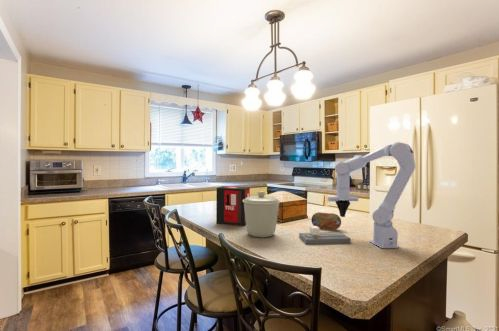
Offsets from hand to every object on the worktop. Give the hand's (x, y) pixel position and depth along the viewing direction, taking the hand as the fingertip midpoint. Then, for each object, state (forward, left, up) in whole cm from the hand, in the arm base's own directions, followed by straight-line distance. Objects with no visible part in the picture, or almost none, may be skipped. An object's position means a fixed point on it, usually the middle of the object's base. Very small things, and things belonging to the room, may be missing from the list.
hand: (342, 216), depth 126 cm
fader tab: (-5, +15, -7) cm, 18 cm away
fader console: (-5, +11, -9) cm, 15 cm away
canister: (+6, +38, -10) cm, 40 cm away
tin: (+14, +2, -10) cm, 17 cm away
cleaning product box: (+30, +50, -10) cm, 59 cm away
